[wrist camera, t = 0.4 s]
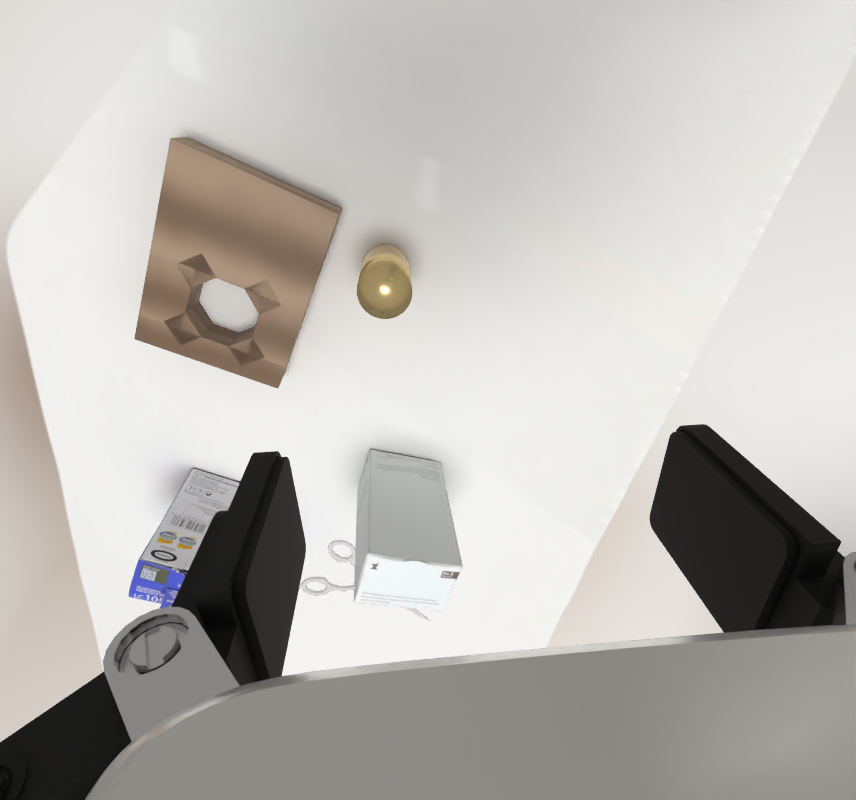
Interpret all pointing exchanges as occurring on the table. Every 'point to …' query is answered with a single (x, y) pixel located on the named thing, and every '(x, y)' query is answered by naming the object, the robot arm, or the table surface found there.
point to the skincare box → (404, 534)
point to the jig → (232, 260)
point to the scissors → (334, 587)
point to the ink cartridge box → (180, 537)
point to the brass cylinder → (385, 282)
